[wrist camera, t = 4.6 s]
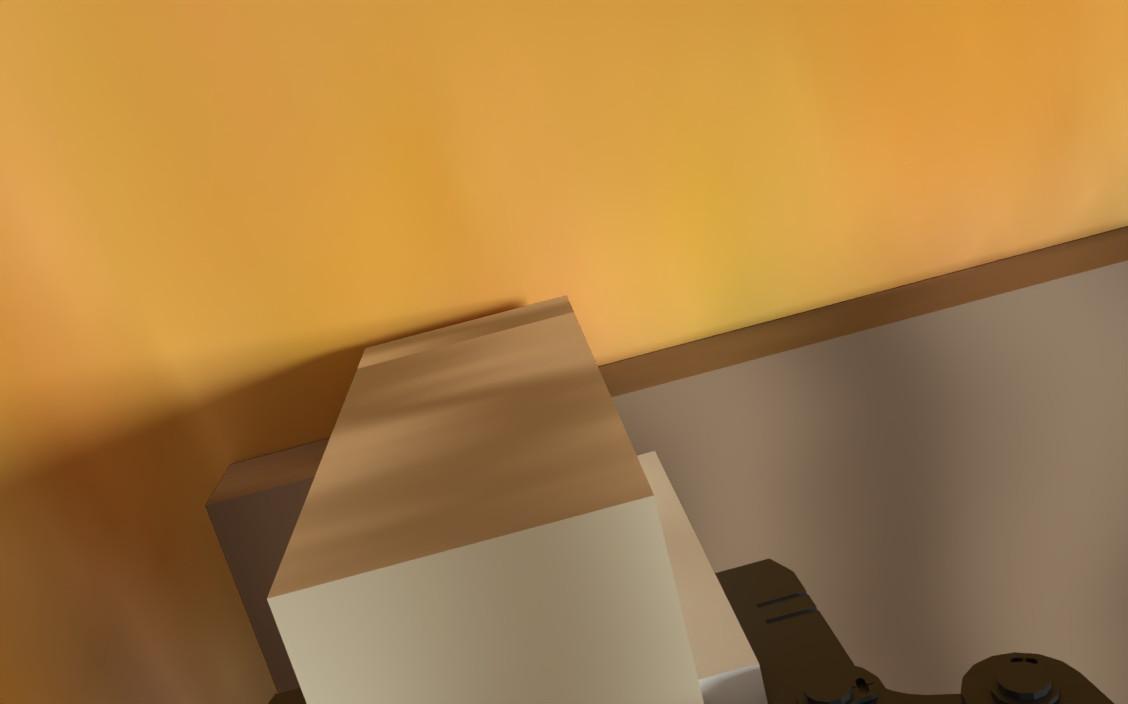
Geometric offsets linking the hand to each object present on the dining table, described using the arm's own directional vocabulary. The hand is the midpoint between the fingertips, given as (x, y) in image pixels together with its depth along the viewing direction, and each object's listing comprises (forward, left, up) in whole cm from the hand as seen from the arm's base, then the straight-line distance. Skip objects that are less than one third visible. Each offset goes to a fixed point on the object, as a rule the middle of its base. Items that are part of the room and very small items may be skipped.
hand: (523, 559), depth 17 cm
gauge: (0, 0, -3) cm, 3 cm away
